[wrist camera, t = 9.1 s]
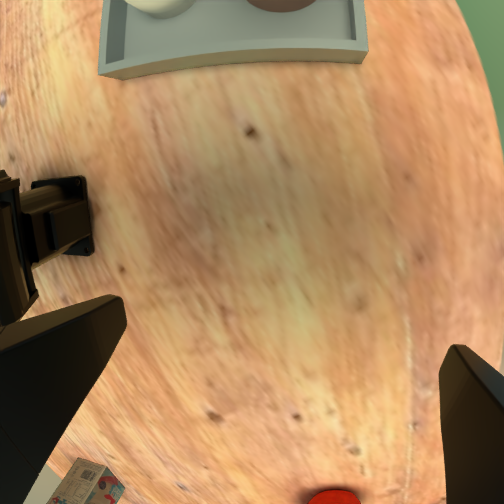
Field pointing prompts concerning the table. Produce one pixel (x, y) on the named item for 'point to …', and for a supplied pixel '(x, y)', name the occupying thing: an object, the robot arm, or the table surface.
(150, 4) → the cream dome ball
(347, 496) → the apple
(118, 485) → the juice carton
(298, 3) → the coffee tin
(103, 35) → the grey shallow tray
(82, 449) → the table surface
